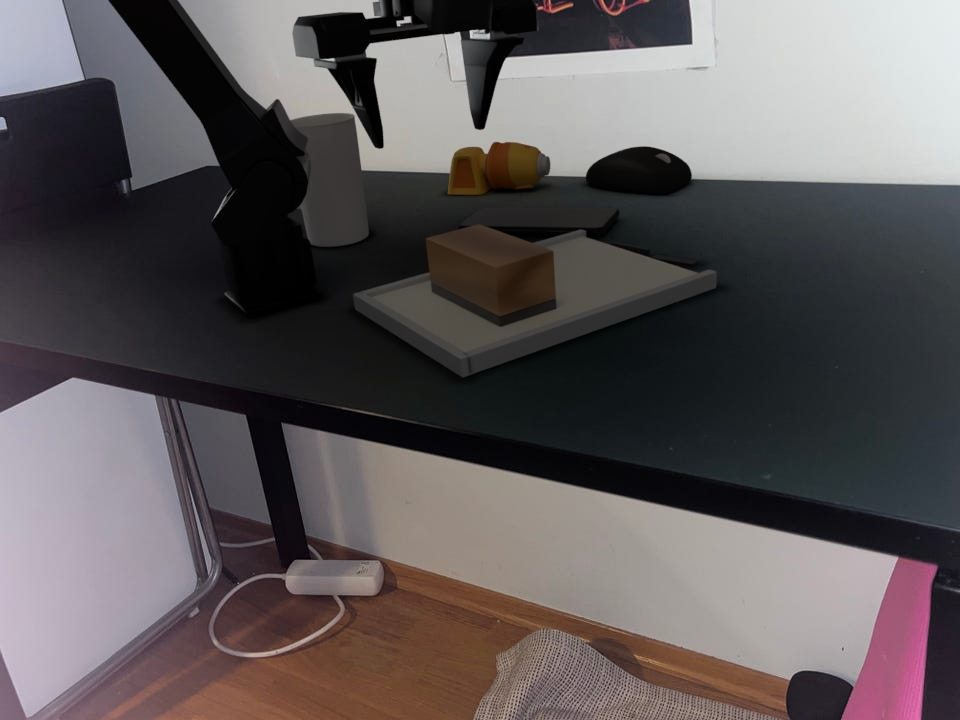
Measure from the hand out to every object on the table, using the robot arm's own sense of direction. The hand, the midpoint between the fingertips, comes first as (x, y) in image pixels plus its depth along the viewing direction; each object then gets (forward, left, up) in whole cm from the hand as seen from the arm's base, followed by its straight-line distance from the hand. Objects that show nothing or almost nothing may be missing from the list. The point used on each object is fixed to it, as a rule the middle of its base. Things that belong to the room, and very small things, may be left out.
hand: (430, 138), depth 71 cm
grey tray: (+2, -10, -12) cm, 16 cm away
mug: (-3, +20, -12) cm, 24 cm away
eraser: (-2, -10, -11) cm, 15 cm away
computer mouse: (+32, +11, -12) cm, 35 cm away
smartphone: (+14, +6, -12) cm, 20 cm away
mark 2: (+16, -11, -12) cm, 23 cm away
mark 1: (+14, -8, -11) cm, 20 cm away
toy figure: (+20, +22, -12) cm, 32 cm away
